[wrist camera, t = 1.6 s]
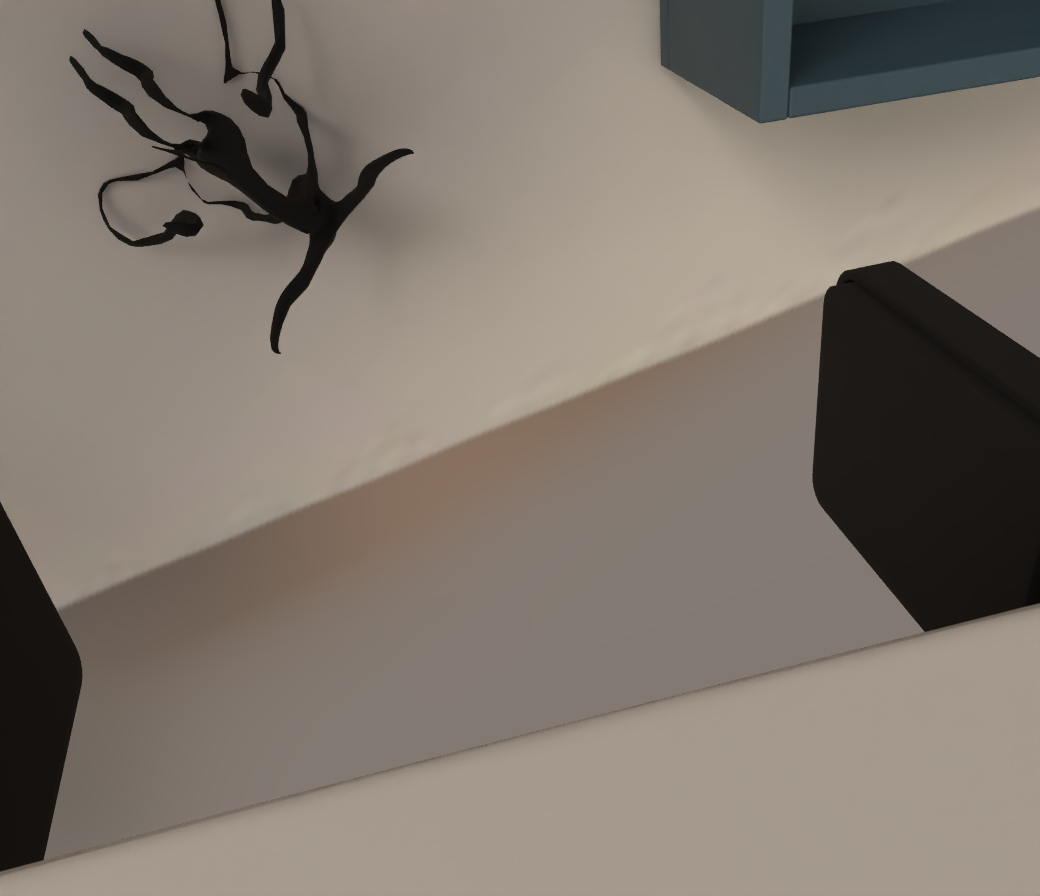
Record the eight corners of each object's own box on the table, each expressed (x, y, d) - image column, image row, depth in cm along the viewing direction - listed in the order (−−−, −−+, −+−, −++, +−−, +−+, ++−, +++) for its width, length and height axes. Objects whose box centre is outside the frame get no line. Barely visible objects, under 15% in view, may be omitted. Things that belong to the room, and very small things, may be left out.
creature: (35, 168, 26) (290, 333, 28) (-67, 206, 21) (250, 401, 24) (174, -97, 24) (442, 105, 26) (94, -123, 19) (433, 129, 21)
